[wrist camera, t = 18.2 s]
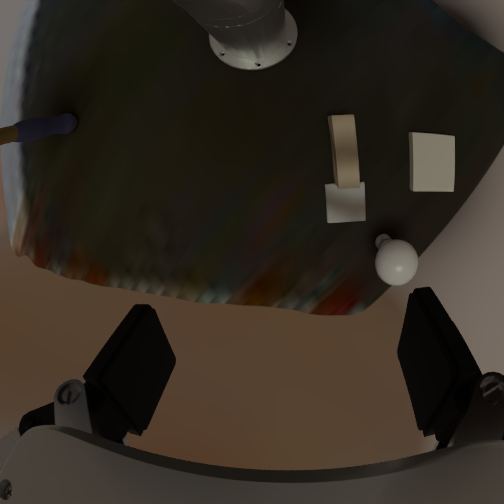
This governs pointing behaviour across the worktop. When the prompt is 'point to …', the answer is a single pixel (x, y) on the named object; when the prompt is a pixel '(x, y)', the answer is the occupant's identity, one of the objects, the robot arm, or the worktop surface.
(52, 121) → the rubber mallet
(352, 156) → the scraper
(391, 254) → the lightbulb
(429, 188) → the tile
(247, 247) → the worktop surface
